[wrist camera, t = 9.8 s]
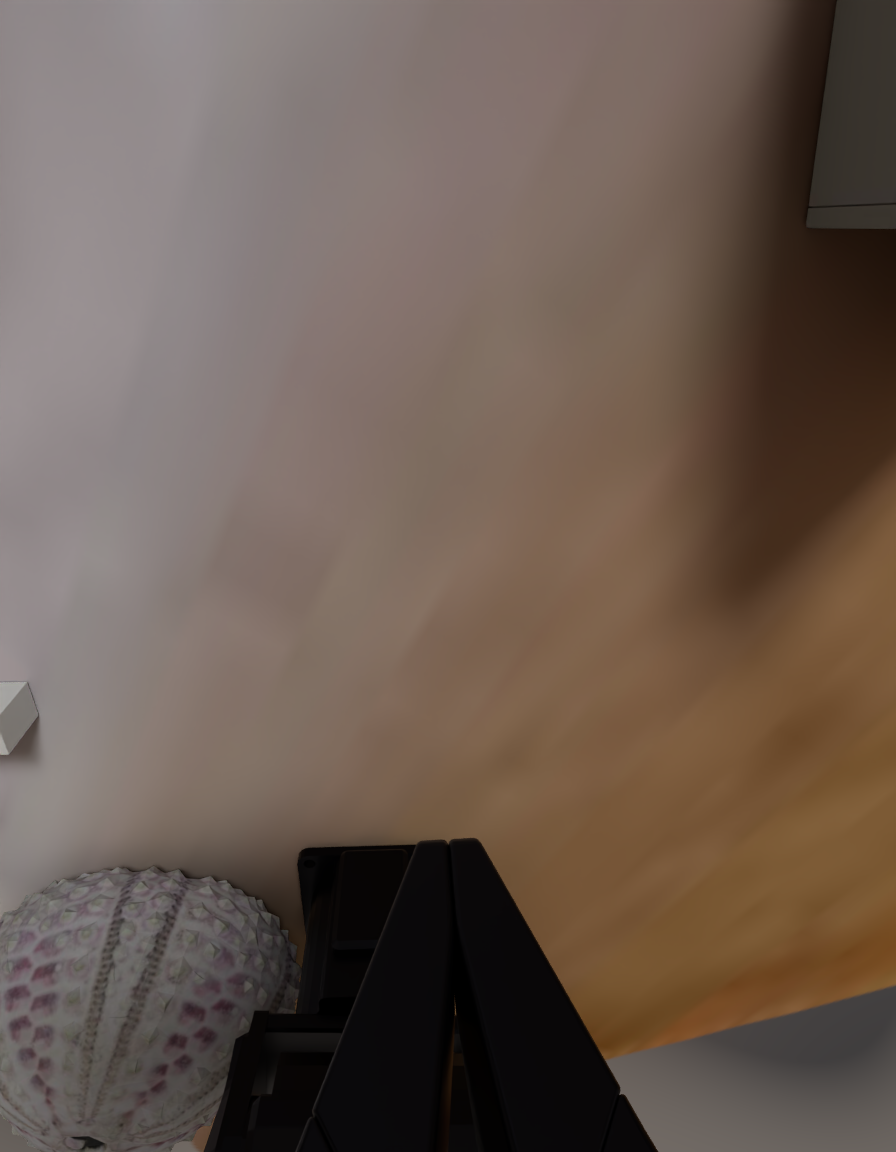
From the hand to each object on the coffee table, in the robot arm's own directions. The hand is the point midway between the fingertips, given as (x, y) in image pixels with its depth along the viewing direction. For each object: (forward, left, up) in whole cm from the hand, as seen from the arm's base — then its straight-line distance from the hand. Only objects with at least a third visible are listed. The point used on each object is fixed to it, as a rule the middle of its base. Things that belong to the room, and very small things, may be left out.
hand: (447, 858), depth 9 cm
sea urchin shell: (-22, +12, -13) cm, 28 cm away
